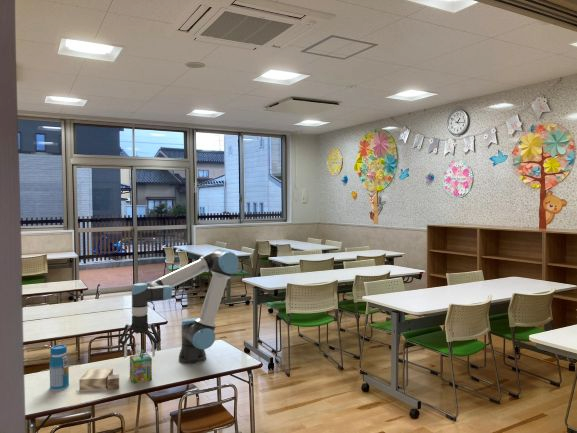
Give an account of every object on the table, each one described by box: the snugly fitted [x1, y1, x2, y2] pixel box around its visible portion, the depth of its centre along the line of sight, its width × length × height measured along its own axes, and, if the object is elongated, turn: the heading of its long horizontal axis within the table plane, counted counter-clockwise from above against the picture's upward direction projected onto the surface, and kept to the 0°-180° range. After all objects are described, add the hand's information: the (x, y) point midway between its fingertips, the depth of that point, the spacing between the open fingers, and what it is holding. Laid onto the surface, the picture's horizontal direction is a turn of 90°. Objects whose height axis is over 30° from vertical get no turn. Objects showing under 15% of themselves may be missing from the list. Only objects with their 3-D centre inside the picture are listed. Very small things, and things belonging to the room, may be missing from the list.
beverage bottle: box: [48, 344, 70, 391], centre depth 212 cm, size 8×8×20 cm
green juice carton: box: [129, 349, 153, 384], centre depth 221 cm, size 9×9×15 cm
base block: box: [78, 368, 114, 390], centre depth 215 cm, size 12×12×5 cm
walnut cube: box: [107, 373, 120, 391], centre depth 211 cm, size 5×5×5 cm
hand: (139, 356), depth 221 cm, fingers open, 13 cm apart
